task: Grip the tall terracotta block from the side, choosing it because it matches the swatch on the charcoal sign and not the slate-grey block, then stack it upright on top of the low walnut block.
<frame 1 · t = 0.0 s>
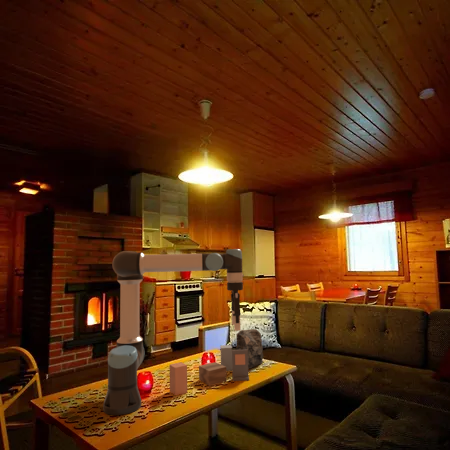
hand: (236, 327, 162), 28 cm above the table, tool pointing down, fingers open, 13 cm apart
walnut block: (212, 380, 172), on the table
charcoal sign: (240, 379, 173), on the table
terracotta block: (178, 392, 158), on the table
stone block: (250, 366, 194), on the table
slate-grey block: (226, 369, 189), on the table
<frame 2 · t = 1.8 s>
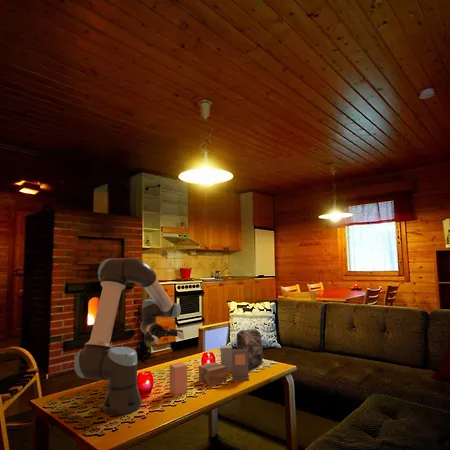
hand: (170, 338, 168), 22 cm above the table, tool horizontal, fingers open, 13 cm apart
nothing on the table moved.
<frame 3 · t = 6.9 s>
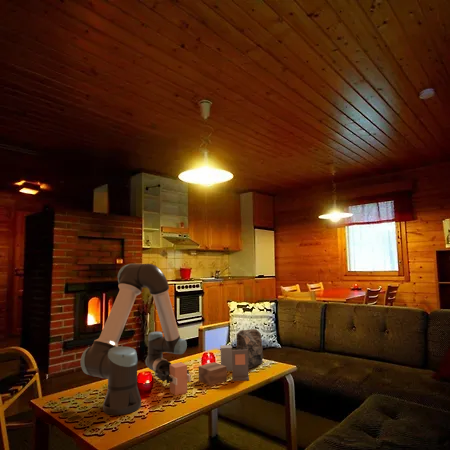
hand: (183, 380, 154), 7 cm above the table, tool horizontal, fingers closed on terracotta block, 6 cm apart
terracotta block: (178, 391, 158), on the table, touching gripper
everything else where it was.
when the fingers open (15 cm above the table, at t = 11.6 s): terracotta block drops 2 cm, point 7 cm above the table.
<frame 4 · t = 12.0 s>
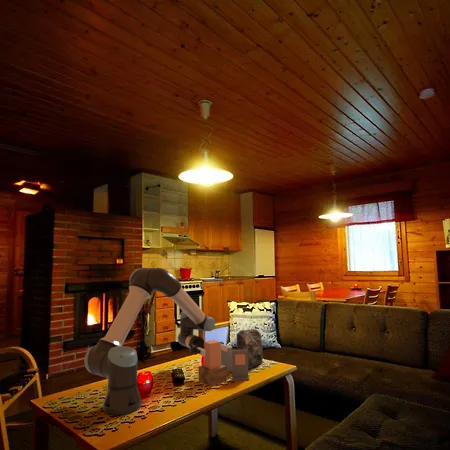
hand: (215, 350, 170), 15 cm above the table, tool horizontal, fingers open, 12 cm apart
terracotta block: (212, 366, 172), point 7 cm above the table
everything else where it was.
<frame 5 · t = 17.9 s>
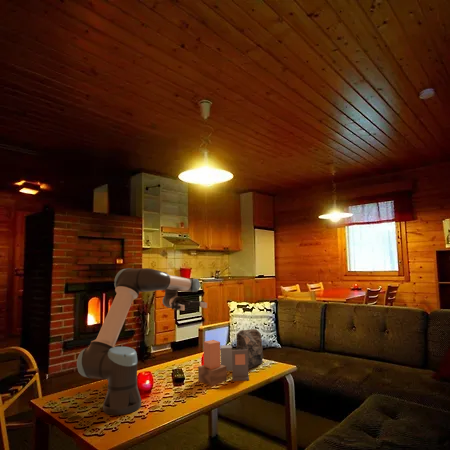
hand: (195, 306, 185), 35 cm above the table, tool horizontal, fingers open, 13 cm apart
nothing on the table moved.
at the end: terracotta block inside the target area on the walnut block (0.1 cm from its centre), point 7.0 cm above the walnut block's base; terracotta block tilted 0°; the gripper is holding nothing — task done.
